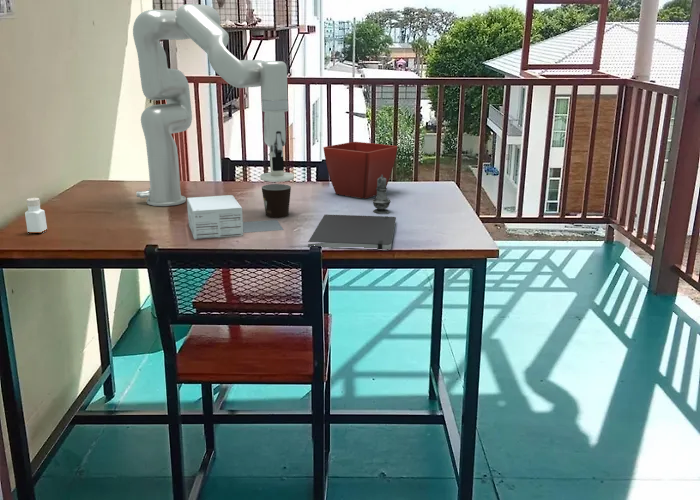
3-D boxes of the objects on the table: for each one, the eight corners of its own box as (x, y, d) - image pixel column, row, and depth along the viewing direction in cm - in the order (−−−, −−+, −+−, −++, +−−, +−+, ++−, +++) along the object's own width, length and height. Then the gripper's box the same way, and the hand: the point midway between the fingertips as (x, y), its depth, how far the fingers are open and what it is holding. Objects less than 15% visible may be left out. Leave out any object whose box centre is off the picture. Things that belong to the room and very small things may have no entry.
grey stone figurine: (394, 211, 204) (395, 174, 200) (382, 215, 200) (383, 176, 196) (380, 208, 208) (380, 171, 204) (368, 211, 204) (368, 174, 200)
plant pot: (353, 186, 241) (354, 140, 236) (397, 192, 230) (398, 145, 225) (322, 195, 226) (321, 147, 221) (367, 202, 215) (367, 152, 210)
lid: (263, 182, 185) (262, 154, 183) (258, 176, 195) (256, 149, 192) (297, 180, 188) (296, 153, 186) (290, 174, 197) (290, 148, 195)
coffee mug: (289, 223, 189) (289, 190, 186) (260, 223, 190) (259, 190, 187) (294, 213, 201) (293, 182, 198) (266, 213, 201) (265, 181, 198)
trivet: (243, 237, 175) (243, 232, 175) (239, 227, 185) (238, 222, 185) (283, 235, 178) (283, 229, 178) (277, 224, 188) (276, 219, 188)
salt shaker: (34, 230, 181) (29, 197, 178) (48, 230, 181) (43, 197, 178) (27, 234, 177) (21, 200, 174) (41, 234, 177) (36, 200, 174)
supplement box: (244, 241, 173) (243, 207, 170) (194, 245, 169) (192, 211, 166) (234, 225, 188) (233, 193, 185) (188, 228, 184) (186, 196, 181)
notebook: (324, 221, 194) (308, 249, 168) (324, 214, 194) (308, 241, 167) (396, 223, 192) (391, 252, 166) (396, 216, 192) (391, 244, 165)
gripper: (257, 103, 192) (259, 165, 197) (266, 108, 176) (268, 175, 182) (282, 103, 194) (284, 163, 199) (293, 108, 178) (294, 173, 184)
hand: (276, 168), depth 190 cm, fingers closed on lid, 3 cm apart
